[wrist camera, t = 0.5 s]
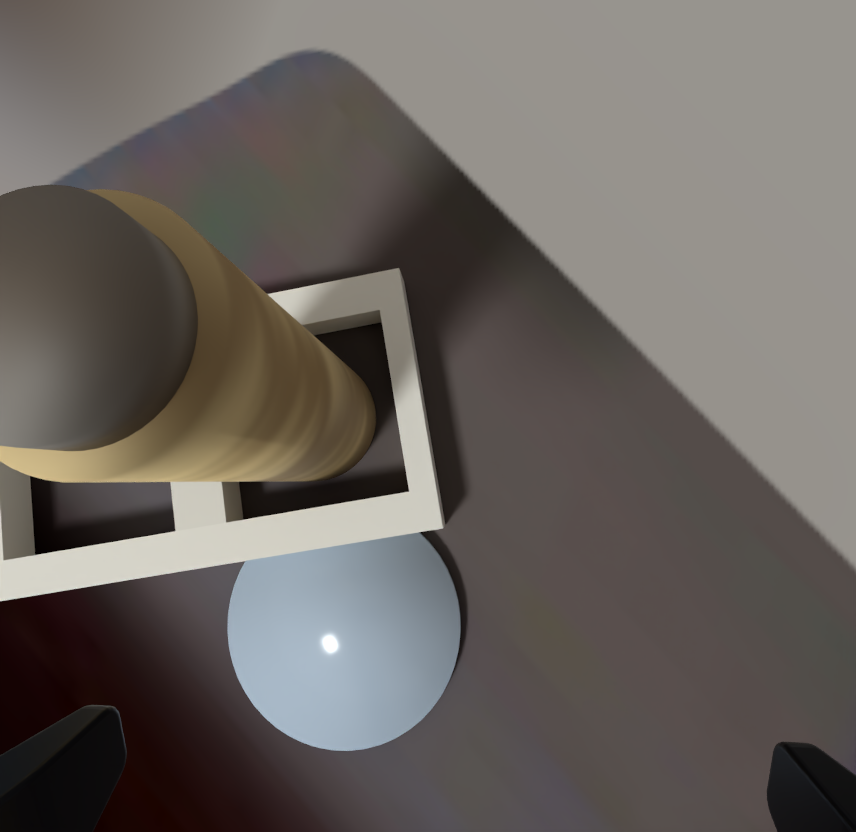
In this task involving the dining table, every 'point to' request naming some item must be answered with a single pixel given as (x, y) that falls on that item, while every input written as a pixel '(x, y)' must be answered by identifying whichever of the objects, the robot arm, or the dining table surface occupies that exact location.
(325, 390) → the plug
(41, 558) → the holder
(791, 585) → the dining table surface
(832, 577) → the dining table surface
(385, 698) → the coaster
